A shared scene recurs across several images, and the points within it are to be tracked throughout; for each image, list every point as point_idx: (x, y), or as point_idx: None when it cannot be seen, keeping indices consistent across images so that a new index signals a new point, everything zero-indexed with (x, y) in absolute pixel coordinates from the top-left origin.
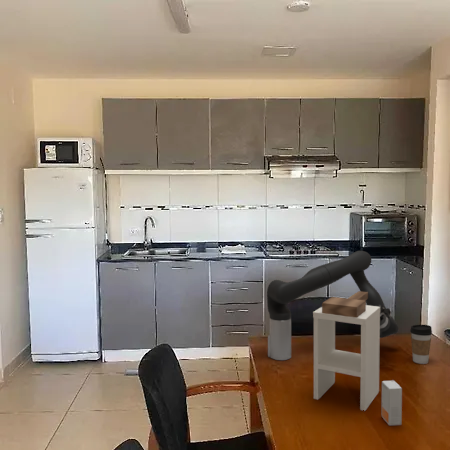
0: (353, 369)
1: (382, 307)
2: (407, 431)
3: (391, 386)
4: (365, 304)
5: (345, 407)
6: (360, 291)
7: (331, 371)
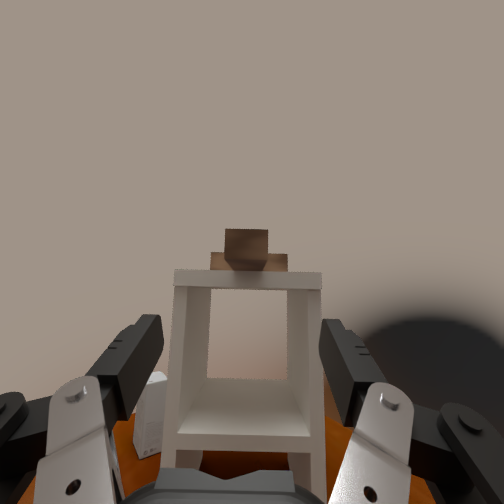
0: (220, 381)
1: (118, 338)
2: (128, 432)
3: (156, 374)
4: (211, 260)
5: (230, 455)
6: (259, 230)
7: (304, 485)
